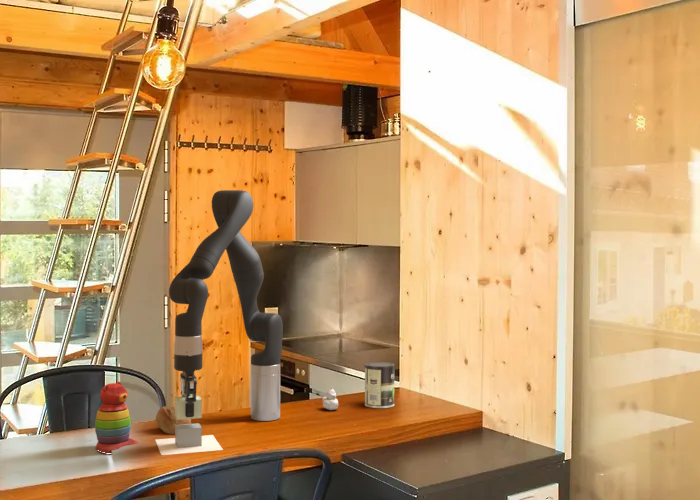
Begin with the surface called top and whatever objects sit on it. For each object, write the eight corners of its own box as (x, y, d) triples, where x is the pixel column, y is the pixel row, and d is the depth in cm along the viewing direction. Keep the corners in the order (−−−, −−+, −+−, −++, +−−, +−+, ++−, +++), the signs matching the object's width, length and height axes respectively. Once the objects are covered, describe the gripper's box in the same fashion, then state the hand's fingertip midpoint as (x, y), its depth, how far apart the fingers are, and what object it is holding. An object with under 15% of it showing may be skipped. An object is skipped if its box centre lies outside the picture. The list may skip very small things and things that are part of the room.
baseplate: (155, 443, 222) (155, 439, 222) (212, 439, 227) (212, 434, 227) (161, 459, 206) (161, 455, 206) (223, 454, 212) (223, 449, 212)
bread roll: (163, 441, 225) (163, 412, 225) (150, 429, 238) (150, 402, 238) (196, 437, 229) (196, 409, 229) (182, 425, 243) (182, 399, 242)
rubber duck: (331, 412, 260) (331, 388, 260) (317, 409, 265) (317, 385, 265) (342, 409, 264) (342, 385, 264) (328, 406, 269) (328, 383, 269)
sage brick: (177, 419, 213) (177, 401, 213) (175, 415, 218) (175, 397, 218) (201, 417, 215) (201, 399, 215) (198, 413, 220) (198, 395, 220)
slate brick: (177, 447, 213) (177, 429, 213) (175, 443, 218) (175, 424, 218) (201, 445, 215) (201, 427, 215) (198, 441, 220) (198, 423, 220)
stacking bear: (111, 456, 210) (111, 388, 209) (85, 450, 215) (85, 384, 215) (142, 446, 219) (142, 381, 218) (116, 441, 224) (116, 378, 224)
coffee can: (393, 401, 277) (394, 361, 276) (395, 408, 266) (395, 366, 266) (364, 401, 277) (364, 361, 276) (364, 408, 267) (364, 366, 266)
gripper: (171, 348, 221) (170, 409, 222) (177, 356, 208) (177, 421, 208) (198, 347, 224) (198, 408, 224) (206, 355, 210) (206, 419, 211)
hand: (188, 414), depth 216 cm, fingers closed on sage brick, 5 cm apart
